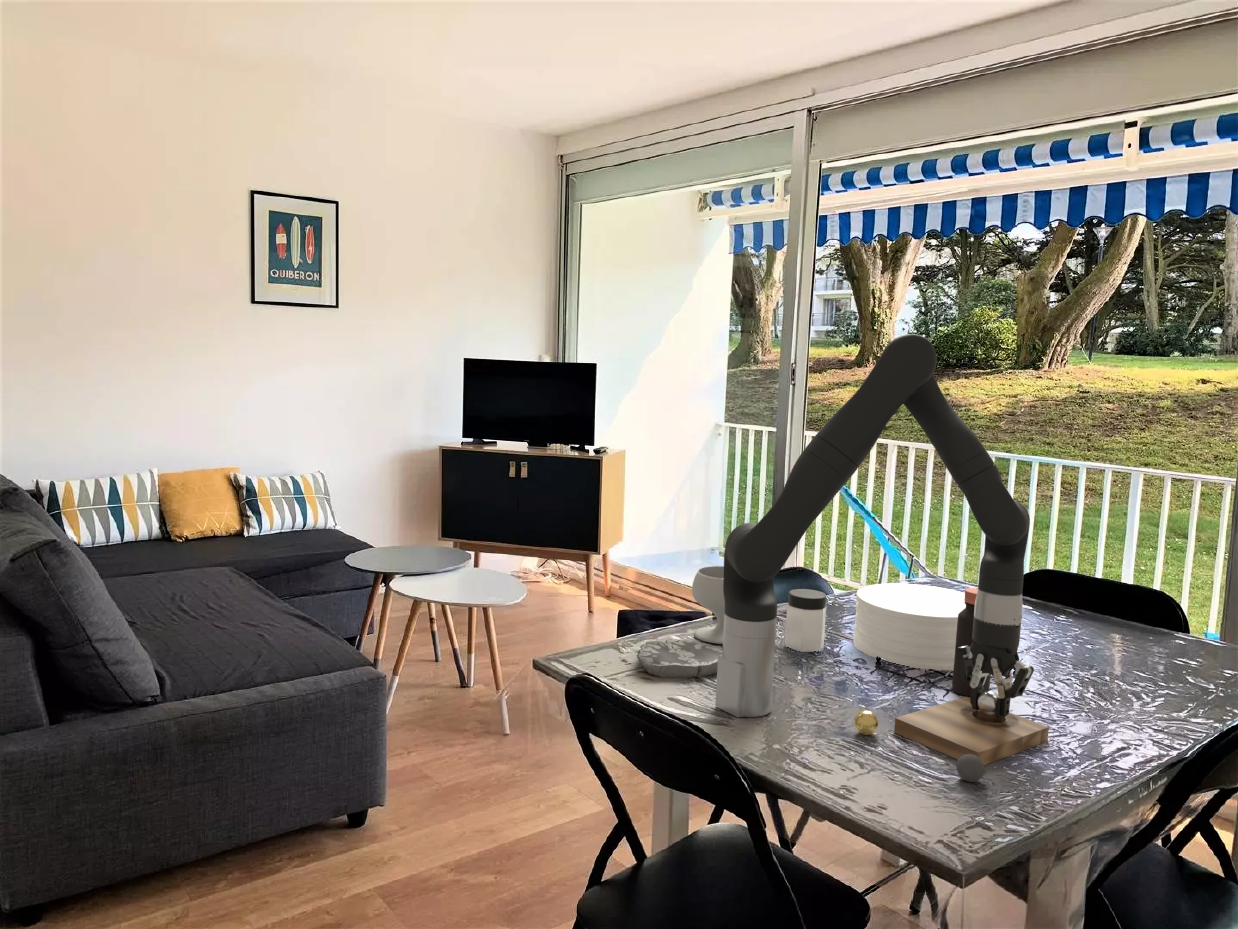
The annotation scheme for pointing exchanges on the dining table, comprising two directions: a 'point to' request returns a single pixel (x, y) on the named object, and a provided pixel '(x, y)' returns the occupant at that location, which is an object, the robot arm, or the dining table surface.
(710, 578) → the chalice
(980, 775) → the rubber ball
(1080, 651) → the dining table surface
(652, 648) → the brain slice
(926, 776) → the dining table surface
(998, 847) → the dining table surface
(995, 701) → the steel ball
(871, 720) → the brass ball
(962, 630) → the bottle
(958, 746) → the board
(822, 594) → the jar
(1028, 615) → the dining table surface
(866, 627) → the plate stack
